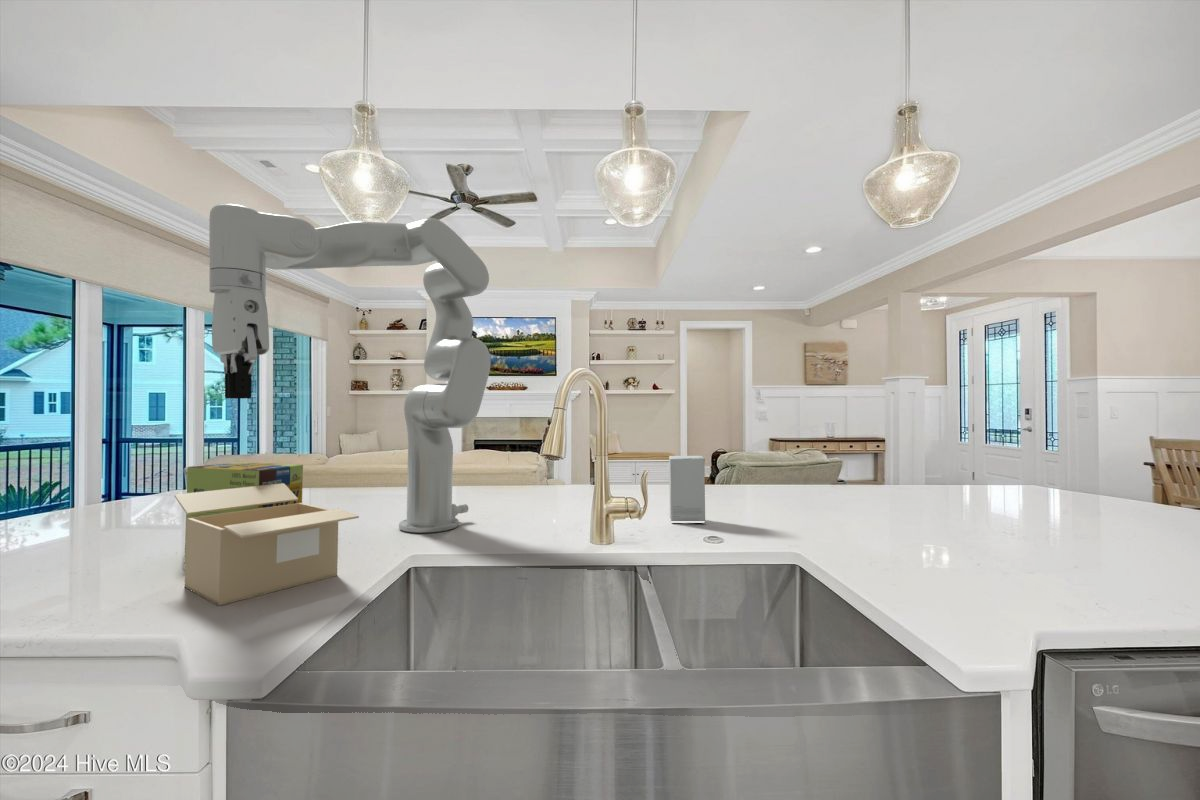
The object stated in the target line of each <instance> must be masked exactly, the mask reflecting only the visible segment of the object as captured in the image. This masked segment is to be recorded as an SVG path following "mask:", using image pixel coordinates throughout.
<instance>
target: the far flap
mask: <svg viewBox="0 0 1200 800" xmlns="http://www.w3.org/2000/svg"><path fill="white" fill-rule="evenodd" d="M174 498H175V499H176V501H177V503H178V504H179V505H180V507H181V508H182V510H183V511H184V512H185V515H186V514H187V515H189V514H197V513H204V512H212V511H220V510H227V509H235V508H243V507H250V506H258V505H266V504H273V503H281V502H289V501H296V500H298V498H297V497H296V496H295V495H294V494H293V493H292V491H291V490H290V489H289V488H288V487H287V486H286V485H285V484H284V483H282V484H272V485H262V486H252V487H243V488H233V489H223V490H213V491H204V492H194V493H187V492H186V493H177V494H174Z"/></svg>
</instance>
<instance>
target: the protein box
mask: <svg viewBox="0 0 1200 800" xmlns="http://www.w3.org/2000/svg"><path fill="white" fill-rule="evenodd" d="M186 472H187V474H186V476H187V478H186V493H194V492H204V491H213V490H223V489H233V488H243V487H252V486H262V485H272V484H282V483H284V484H285V485H286V486H287V487H288V488H289V489H290V490H291V491H292V493H293V494H294V495H295V496H296V497H297V498H298V500H296V501H289V502H281V503H273V504H266V505H258V506H250V507H243V508H235V509H227V510H220V511H212V512H204V513H197V514H189V515H187V514H186V513H185V519H186V518H192V517H199V516H206V515H214V514H221V513H229V512H236V511H244V510H251V509H258V508H266V507H273V506H281V505H288V504H296V503H303V478H304V477H303V476H304V473H303V472H304V464H296V463H277V462H276V463H274V462H273V463H272V462H270V463H269V462H239V461H238V462H229V463H227V462H226V463H219V464H218V463H217V464H216V463H215V464H208V465H207V464H206V465H195V466H194V465H193V466H188V467H187V471H186ZM184 533H185V536H184V537H185V539H184V553H185V552H186V530H185V532H184Z"/></svg>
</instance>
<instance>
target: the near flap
mask: <svg viewBox="0 0 1200 800" xmlns="http://www.w3.org/2000/svg"><path fill="white" fill-rule="evenodd" d="M359 518H360V515H357V514H355V513H352V512H349V511H347V510H343V509H340V508H335V509H330V510H326V511H320V512H313V513H306V514H300V515H293V516H287V517H280V518H273V519H267V520H260V521H254V522H247V523H241V524H234V525H227V526H224V529H226V530H228V531H230V532H232V533H234V534H235V535H237V536H239V537H241V538H245V537H251V536H257V535H263V534H268V533H274V532H280V531H286V530H292V529H297V528H303V527H309V526H315V525H321V524H326V523H332V522H338V523H339V522H343V521H349V520H350V521H351V520H354V519H359Z"/></svg>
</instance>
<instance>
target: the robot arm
mask: <svg viewBox="0 0 1200 800" xmlns="http://www.w3.org/2000/svg"><path fill="white" fill-rule="evenodd" d="M208 224H209V230H208V231H209V240H208V241H209V247H208V248H209V252H208V253H209V258H208V259H209V292H210V293H211V294H214V297H213V306H212V319H211V320H212V321H211V322H212V323H211V326H212V327H211V345H212V351H213V352H214V353H215V354H217V355H220V357H219V358H220V359H219V360H220V363H222V364H223V371H224V397H225V399H251V398H252V373H253V370H254V369H253V368H254V367H253V366H254V362H255V361H258V356H261V355H263V356H264V355H265V354H267V353H268V352H269V351H270V331H269V317H268V315H269V314H268V306H267V301H266V294H267V293H266V292H267V290H266V287H267V285H266V283H267V281H266V275H267V274H266V271H267V269H270V270H280V271H283V270H311V269H312V270H313V269H314V270H317V269H330V268H331V269H332V268H333V269H334V268H359V267H387V266H388V267H389V266H393V267H394V266H395V267H398V266H399V267H400V266H418V265H423V264H427V263H431V262H437V263H435V264H432V265H430V266H428V267H427V268H426V269H425V271H424V273H423V278H422V279H423V281H422V282H423V287H424V290H425V292H426V293H427V296H428V297H429V298H430V301H431V302H432V304H433V305H432V306H433V307H434V310H435V311H434V312H435V323H434V327H433V330H432V333H431V336H430V339H429V344H428V347H427V349H426V353H425V357H424V361H423V362H424V363H423V367H424V368H423V369H424V371H425V374H426V375H427V376H428V377H430V378H431V379H433V380H436V381H440V382H441V381H442V382H447V383H427V384H421V385H418V386H416V387H413V388H412V389H411V390H410V391H409V392H408V393H407V395H406V397H405V398H404V399H405V400H404V403H403V404H404V405H403V411H404V413H403V414H404V419H405V422H406V431H407V478H406V480H407V481H406V483H407V485H406V486H407V487H406V519H403V520H402V521H400V522H399V523H398V528H399V530H400V531H402V532H405V533H416V534H417V533H421V534H422V533H426V534H428V533H439V532H445V531H449V530H452V529H456V528H457V527H458V526H459V525H460V524H459V522H460V520H459V518H457V517H456V516H458V514H464V513H466V514H467V513H468V512H469V506H468V504H465V503H464V504H460V505H456V504H455V503H453V459H454V458H453V457H454V446H453V445H454V444H453V439H452V436H451V433H450V431H449V429H461V428H462V429H463V428H465V427H468V426H469V425H471V424H472V423H473V422H474V421H475V420H476V418H477V417H478V414H479V411H480V408H481V405H482V402H483V397H484V396H485V395H484V394H485V390H486V387H487V382H488V380H489V376H490V371H491V365H492V364H491V363H492V362H491V355H490V351H489V349H488V347H487V345H486V344H485V343H484V342H483V341H482V340H480V339H479V338H477V337H472V334H473V329H474V318H473V314H472V312H471V310H470V308H469V306H468V305H467V303H466V301H465V299H464V298H468V297H474V296H478V295H480V294H482V293H483V292H485V290H486V289H487V288H488V285H489V281H490V276H489V275H490V274H489V271H488V268H487V266H486V264H485V262H484V261H483V259H481V258H480V257H479V255H478V254H477V253H476V252H475V251H474V250H473V249H472V248H471V247H470V245H468V244H467V243H466V242H465V240H463V238H461V236H460V235H458V234H457V233H456V231H454V230H453V229H452V228H451V227H450V226H449V225H447V224H446V223H445V222H443V221H441V220H440V219H437V218H434V217H428V218H424V219H420V220H416V221H413V222H410V223H399V222H398V223H397V222H394V223H393V222H376V221H367V220H366V221H363V220H357V221H355V220H354V221H348V222H344V223H343V222H342V223H339V224H335V225H330V226H324V227H317V228H316V227H315V226H314V225H312V223H310V222H308V221H307V220H305V219H302V218H299V217H295V216H291V215H284V214H283V215H281V214H275V213H274V214H272V213H267V212H262V211H258V210H256V209H254V208H251V207H247V206H246V205H244V206H243V205H240V204H233V203H220V204H219V203H218V204H216V205H214V206H213V207H211V210H210V212H209V223H208Z"/></svg>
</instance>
